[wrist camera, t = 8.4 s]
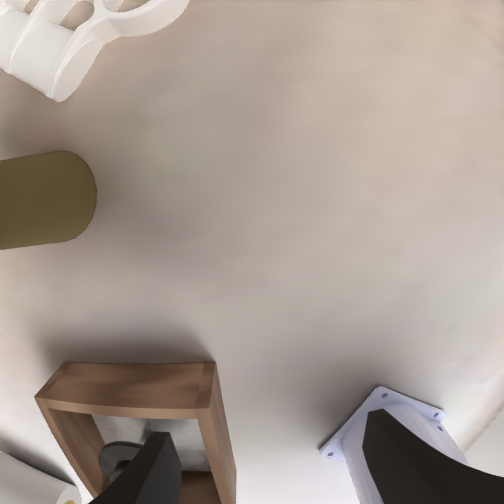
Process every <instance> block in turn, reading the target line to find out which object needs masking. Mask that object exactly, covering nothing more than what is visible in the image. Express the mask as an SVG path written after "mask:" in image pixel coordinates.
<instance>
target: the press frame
mask: <svg viewBox="0 0 504 504" xmlns="http://www.w3.org/2000/svg"><path fill="white" fill-rule="evenodd" d="M34 398H35V400H36V402H37V404H38V406H39V408H40V410H41V412H42V414H43V416H44V418H45V420H46V422H47V424H48V426H49V428H50V430H51V432H52V433H53V435H54V437H55V439H56V441H57V442H58V444H59V446H60V448H61V449H62V451H63V453H64V454H65V456H66V458H67V459H68V461H69V463H70V464H71V466H72V467H73V469H74V470H75V472H76V473H77V475H78V477H79V478H80V480H81V481H82V482H83V484H84V485H85V487H86V488H87V490H88V491H89V493H90V494H91V495H92V497H93V498H94V499H95V498H96V497H97V496H98V495H99V494H100V493H101V492H103V491H104V490H105V489H106V488H107V487H108V486H109V485H110V479H109V478H108V477H107V476H106V475H105V474H104V472H103V471H102V470H101V468H100V466H99V463H98V457H99V454H100V452H101V450H102V448H103V447H104V446H105V445H106V444H105V442H104V440H103V438H102V436H101V434H100V432H99V430H98V428H97V426H96V423H95V421H94V419H93V417H92V415H91V414H95V415H104V416H116V417H130V418H149V419H197V420H198V424H199V428H200V432H201V435H202V439H203V443H204V447H205V450H206V454H207V457H208V461H209V464H210V468H211V471H182V473H181V487H180V493H179V498H178V503H177V504H236V467H235V462H234V457H233V452H232V447H231V442H230V437H229V432H228V427H227V422H226V417H225V411H224V406H223V400H222V395H221V389H220V384H219V378H218V372H217V366H216V362H204V363H178V364H104V363H79V362H64V363H63V364H62V365H61V367H60V368H59V369H58V370H57V371H56V372H55V373H54V374H53V376H52V377H51V378H50V379H49V380H48V381H47V383H46V384H45V385H44V386H43V387H42V388H41V389H40V391H39V392H38V393H37V394H36V395H35V396H34Z"/></svg>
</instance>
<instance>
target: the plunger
mask: <svg viewBox="0 0 504 504" xmlns="http://www.w3.org/2000/svg"><path fill="white" fill-rule="evenodd" d="M91 415H92V417H93V419H94V421H95V423H96V426H97V428H98V430H99V432H100V434H101V436H102V438H103V440H104V442H105V444H106V445H105V446H104V447H103V448H102V450H101V452H100V454H99V457H98V463H99V466H100V468H101V470H102V471H103V472H104V474H105V475H106V476H107V477H108V478H109V479H110V484H111V483H112V482H113V481H114V480H115V479H116V477H117V476H118V475H119V474H120V473H121V472H122V471H123V470H124V469H125V467H126V466H127V465H128V464H129V463H130V461H131V460H132V459H133V458H134V457H135V455H136V454H137V453H138V451H139V450H140V449H141V447H142V446H143V445H144V443H145V442H146V441H147V439H148V438H149V437H150V435H151V434H152V433H153V432H154V431H157V432H170V434H171V437H172V440H173V443H174V445H175V448H176V451H177V454H178V456H179V459H180V462H181V464H182V471H211V468H210V464H209V461H208V457H207V454H206V450H205V447H204V443H203V439H202V435H201V432H200V428H199V424H198V420H197V419H149V418H130V417H116V416H104V415H95V414H91Z"/></svg>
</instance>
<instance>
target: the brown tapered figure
mask: <svg viewBox="0 0 504 504" xmlns="http://www.w3.org/2000/svg"><path fill="white" fill-rule="evenodd" d="M96 192H97V189H96V185H95V181H94V176H93V174H92V172H91V170H90V168H89V167H88V165H87V163H86V162H85V161H84V160H82V159H81V158H80V157H79V156H78V155H76V154H73V153H71V152H68V151H58V152H50V153H43V154H36V155H30V156H24V157H18V158H13V159H8V160H2V161H0V250H3V249H11V248H18V247H26V246H34V245H42V244H50V243H58V242H65V241H68V240H71V239H74V238H76V237H77V236H78V235H80V234H81V233H82V232H83V231H84V230H85V229H86V227H87V226H88V224H89V223H90V221H91V219H92V217H93V214H94V210H95V207H96Z"/></svg>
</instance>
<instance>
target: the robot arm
mask: <svg viewBox="0 0 504 504" xmlns="http://www.w3.org/2000/svg"><path fill="white" fill-rule="evenodd" d="M384 393H385V394H384ZM383 394H384V395H383ZM445 417H446V412H445V411H443V410H441V409H438V408H435V407H433V406H430V405H428V404H425V403H422V402H420V401H417V400H415V399H412V398H410V397H407V396H405V395H402V394H400V393H397V392H395V391H392V390H390V389H388V388H385V387H383V386H379V387H377V388H376V389H374V391H373V392H372V393H371V394H370V395H369V397H368V398H367V399H366V400H365V401H364V402H363V404H362V405H361V406H360V407H359V408H358V409H357V411H356V412H355V413H354V414H353V415H352V416H351V417H350V418H349V420H348V421H347V422H346V423H345V424H344V425H343V426H342V427H341V428H340V429H339V430H338V431H337V432H336V434H335V435H334V436H333V437H332V438H331V439H330V440H329V441H328V442H327V443H326V444H325V445H324V446H323V447H322V448H321V449H320V451H319V452H320V455H321V456H324V457H328V458H332V459H336V460H340V461H344V462H346V463H347V466H348V469H349V472H350V475H351V478H352V481H353V484H354V487H355V490H356V493H357V496H358V499H359V502H360V504H504V477H500V476H496V475H491V474H488V473H485V472H482V471H480V470H477V469H474V468H472V467H469V463H468V461H467V459H466V458H465V456H464V455H463V453H462V452H461V450H460V449H459V448H458V446H457V445H456V443H455V442H454V441H453V439H452V438H451V436H450V435H449V434H448V432H447V431H446V429H445V428H444V427H443V425H442V424H441V421H442V420H443V419H444V418H445ZM330 452H331V453H330ZM181 473H182V464H181V462H180V459H179V456H178V454H177V451H176V448H175V445H174V443H173V440H172V437H171V434H170V432H157V431H154V432H153V433H152V434H151V435H150V437H149V438H148V439H147V441H146V442H145V443H144V445H143V446H142V447H141V449H140V450H139V451H138V453H137V454H136V455H135V457H134V458H133V459H132V460H131V461H130V463H129V464H128V465H127V466H126V467H125V469H124V470H123V471H122V472H121V473H120V474H119V475H118V476H117V477H116V479H115V480H114V481H113V482H112V483H111V484H110V485H109V486H108V487H107V488H106V489H105V490H104V491H103V492H101V493H100V494H99V495H98V496H97V497H96V498H95V499H93V500H92V501H91V502H90V503H88V504H177V503H178V498H179V493H180V487H181Z"/></svg>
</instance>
